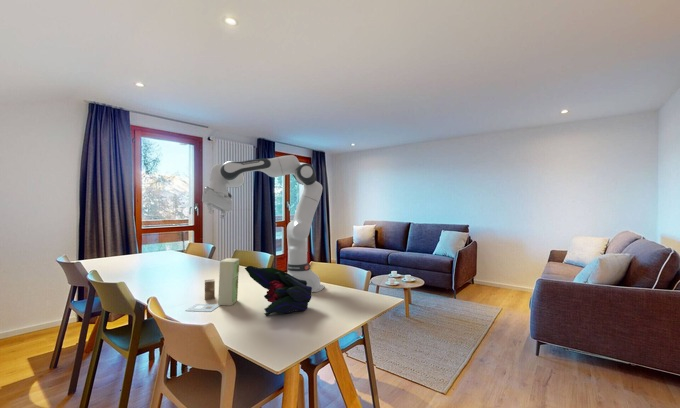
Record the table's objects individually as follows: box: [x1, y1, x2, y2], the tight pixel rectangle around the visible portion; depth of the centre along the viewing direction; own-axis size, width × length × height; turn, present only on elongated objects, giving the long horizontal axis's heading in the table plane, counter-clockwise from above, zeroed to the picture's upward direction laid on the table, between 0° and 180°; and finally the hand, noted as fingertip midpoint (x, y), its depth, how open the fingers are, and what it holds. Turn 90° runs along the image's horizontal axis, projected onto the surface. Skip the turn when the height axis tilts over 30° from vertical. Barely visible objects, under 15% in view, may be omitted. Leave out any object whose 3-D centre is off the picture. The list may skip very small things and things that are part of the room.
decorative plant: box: [244, 265, 313, 316], centre depth 133 cm, size 21×26×30 cm
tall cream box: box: [217, 257, 240, 306], centre depth 145 cm, size 8×7×21 cm
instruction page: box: [185, 303, 221, 313], centre depth 138 cm, size 12×9×1 cm
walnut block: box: [204, 278, 216, 301], centre depth 152 cm, size 4×4×9 cm
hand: (217, 215), depth 157 cm, fingers open, 8 cm apart
